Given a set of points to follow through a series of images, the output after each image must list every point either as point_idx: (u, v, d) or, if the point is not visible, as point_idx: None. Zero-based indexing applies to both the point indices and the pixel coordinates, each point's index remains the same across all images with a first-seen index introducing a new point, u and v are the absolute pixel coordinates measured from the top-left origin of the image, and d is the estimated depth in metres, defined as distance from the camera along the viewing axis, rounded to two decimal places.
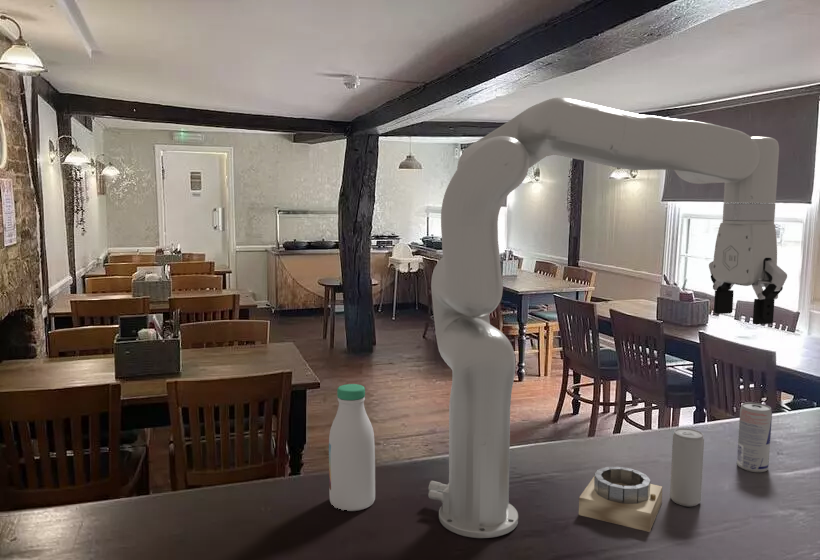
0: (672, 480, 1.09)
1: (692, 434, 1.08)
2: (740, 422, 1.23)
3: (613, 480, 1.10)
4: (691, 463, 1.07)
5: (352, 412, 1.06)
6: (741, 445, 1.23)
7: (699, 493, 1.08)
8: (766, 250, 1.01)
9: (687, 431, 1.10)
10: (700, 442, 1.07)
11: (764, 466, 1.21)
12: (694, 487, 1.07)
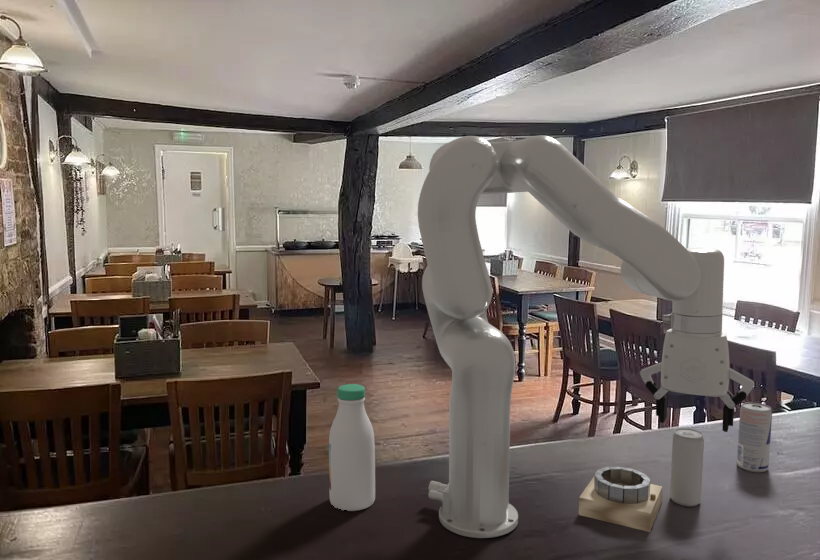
0: (672, 480, 1.09)
1: (692, 434, 1.08)
2: (740, 422, 1.23)
3: (613, 480, 1.10)
4: (691, 463, 1.07)
5: (352, 412, 1.06)
6: (741, 445, 1.23)
7: (699, 493, 1.08)
8: None
9: (687, 431, 1.10)
10: (700, 442, 1.07)
11: (764, 466, 1.21)
12: (694, 487, 1.07)
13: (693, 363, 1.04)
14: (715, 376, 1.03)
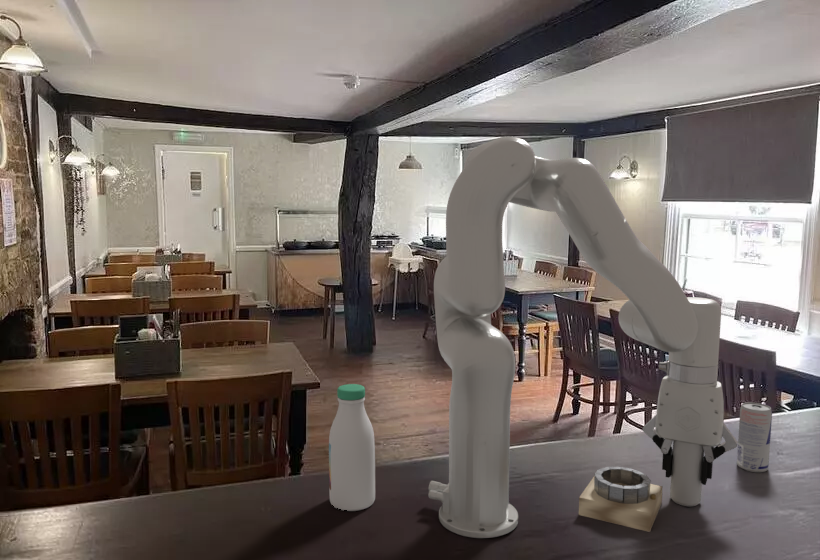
0: (672, 480, 1.09)
1: None
2: (740, 422, 1.23)
3: (613, 480, 1.10)
4: (692, 463, 1.07)
5: (352, 412, 1.06)
6: (741, 445, 1.23)
7: (699, 493, 1.08)
8: (723, 409, 1.05)
9: None
10: None
11: (764, 466, 1.21)
12: (694, 487, 1.07)
13: (688, 412, 1.05)
14: (709, 426, 1.04)
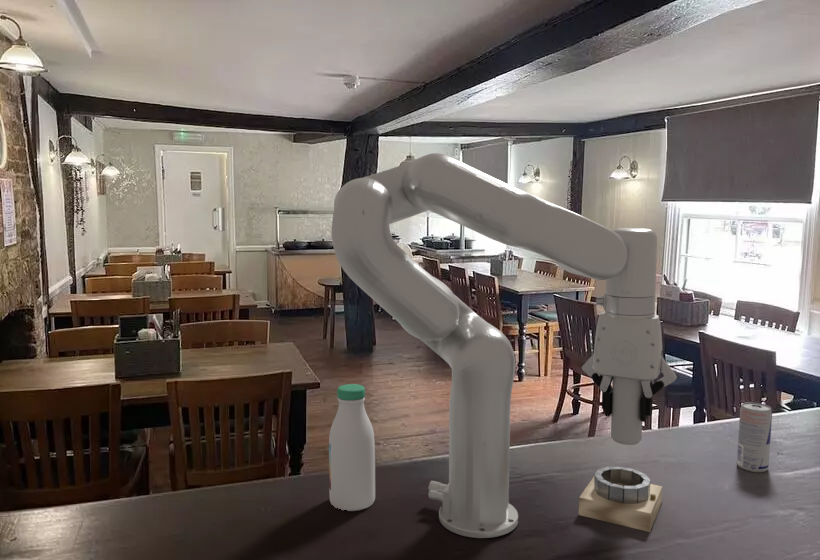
0: (612, 418, 1.06)
1: None
2: (740, 422, 1.23)
3: (613, 480, 1.10)
4: (630, 400, 1.03)
5: (352, 412, 1.06)
6: (741, 445, 1.23)
7: (639, 430, 1.04)
8: (661, 342, 1.01)
9: None
10: None
11: (764, 466, 1.21)
12: (633, 424, 1.03)
13: (624, 346, 1.02)
14: (646, 359, 1.00)
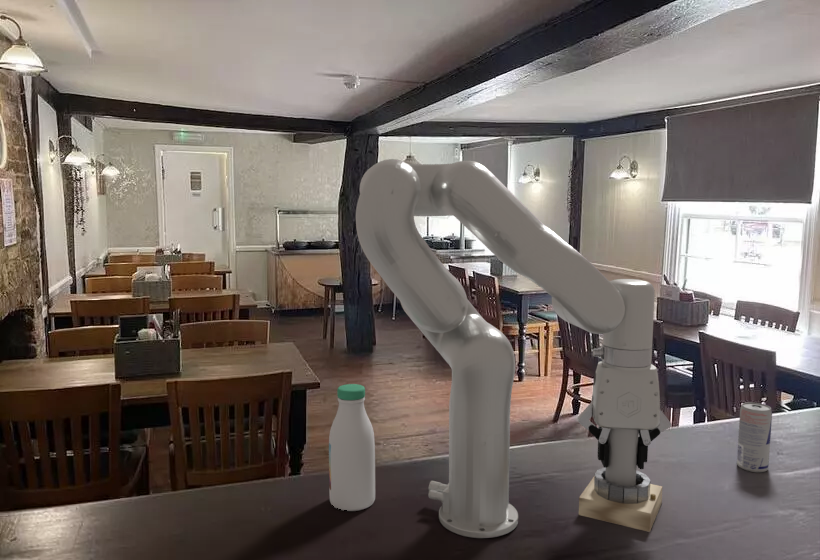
0: (610, 469, 1.06)
1: None
2: (740, 422, 1.23)
3: None
4: (630, 449, 1.04)
5: (352, 412, 1.06)
6: (741, 445, 1.23)
7: (635, 478, 1.06)
8: None
9: None
10: None
11: (764, 466, 1.21)
12: (632, 473, 1.05)
13: (628, 397, 1.02)
14: (649, 409, 1.02)
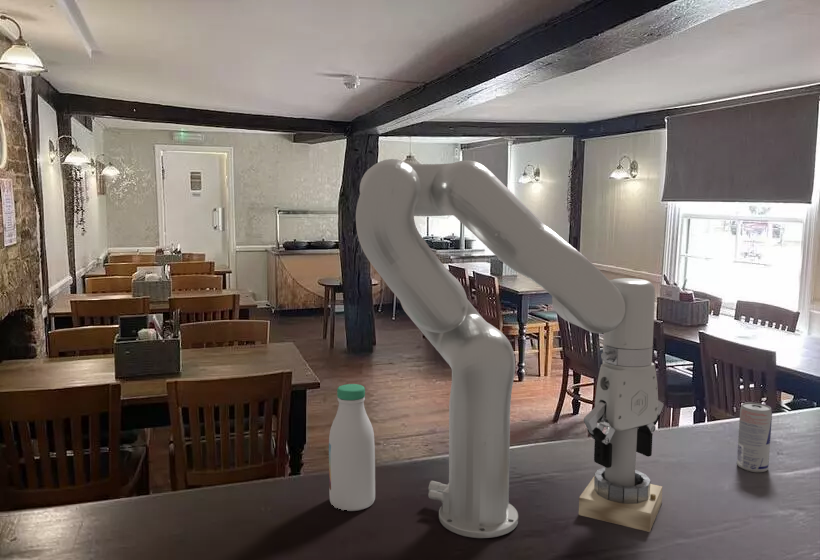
0: (617, 474, 1.05)
1: None
2: (740, 422, 1.23)
3: None
4: (635, 449, 1.05)
5: (351, 412, 1.06)
6: (741, 445, 1.23)
7: None
8: None
9: None
10: None
11: (764, 466, 1.21)
12: None
13: (639, 396, 1.02)
14: (652, 404, 1.04)
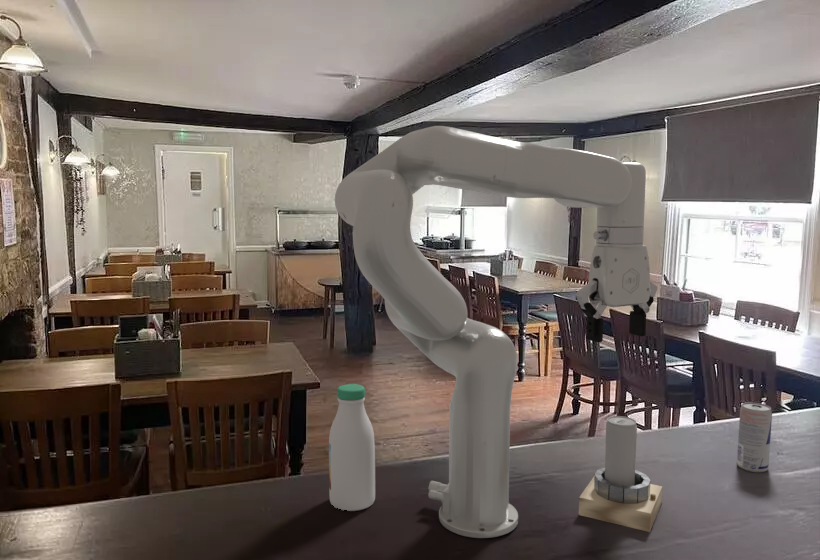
0: (617, 474, 1.05)
1: (625, 420, 1.06)
2: (740, 422, 1.23)
3: None
4: (635, 449, 1.05)
5: (351, 412, 1.06)
6: (741, 445, 1.23)
7: None
8: None
9: (616, 419, 1.06)
10: (636, 425, 1.06)
11: (764, 466, 1.21)
12: None
13: (630, 274, 1.07)
14: (644, 284, 1.09)
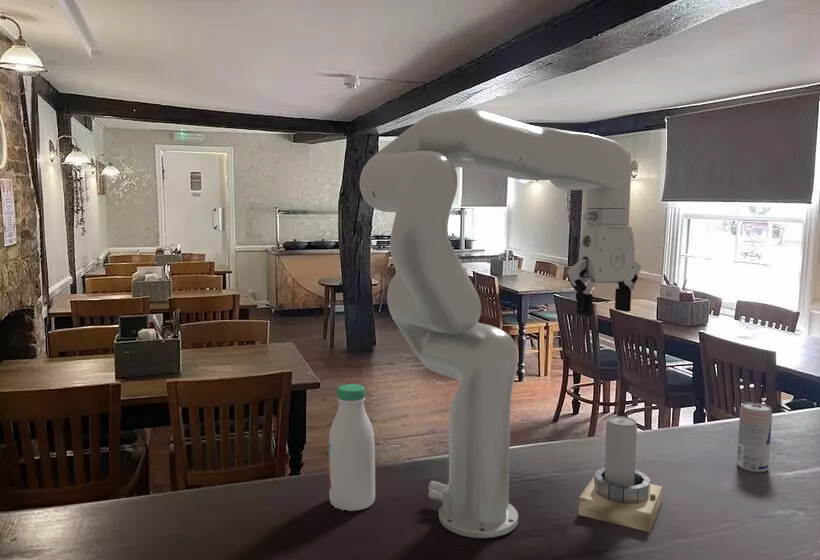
0: (617, 474, 1.05)
1: (625, 420, 1.06)
2: (740, 422, 1.23)
3: None
4: (635, 449, 1.05)
5: (351, 412, 1.06)
6: (741, 445, 1.23)
7: None
8: None
9: (616, 419, 1.06)
10: (636, 425, 1.06)
11: (764, 466, 1.21)
12: None
13: (617, 253, 1.15)
14: (630, 262, 1.16)
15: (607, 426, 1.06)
